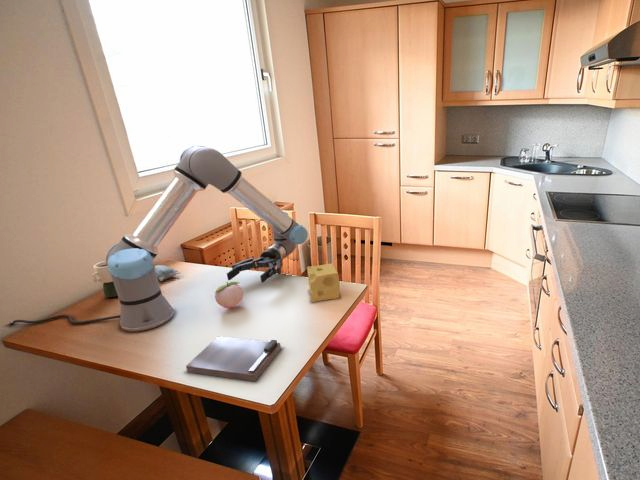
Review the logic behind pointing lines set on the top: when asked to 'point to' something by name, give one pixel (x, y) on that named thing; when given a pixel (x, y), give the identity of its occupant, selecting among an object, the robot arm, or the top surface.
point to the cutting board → (235, 358)
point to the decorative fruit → (229, 295)
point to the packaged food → (165, 272)
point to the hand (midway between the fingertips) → (244, 278)
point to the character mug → (104, 279)
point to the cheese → (323, 282)
